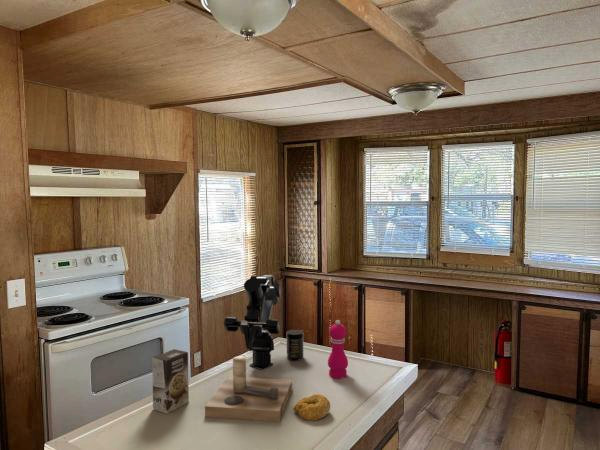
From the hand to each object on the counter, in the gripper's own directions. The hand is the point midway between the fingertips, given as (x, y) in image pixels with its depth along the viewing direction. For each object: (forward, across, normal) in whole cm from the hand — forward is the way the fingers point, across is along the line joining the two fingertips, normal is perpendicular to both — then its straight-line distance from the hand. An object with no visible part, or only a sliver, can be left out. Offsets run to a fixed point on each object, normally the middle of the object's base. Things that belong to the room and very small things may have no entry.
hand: (247, 348), depth 151 cm
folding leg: (+15, -5, +1) cm, 16 cm away
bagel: (+20, -23, +1) cm, 31 cm away
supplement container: (-11, -12, -31) cm, 35 cm away
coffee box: (+21, +20, +1) cm, 29 cm away
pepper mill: (-1, -30, -19) cm, 35 cm away
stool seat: (+16, -4, -2) cm, 17 cm away
